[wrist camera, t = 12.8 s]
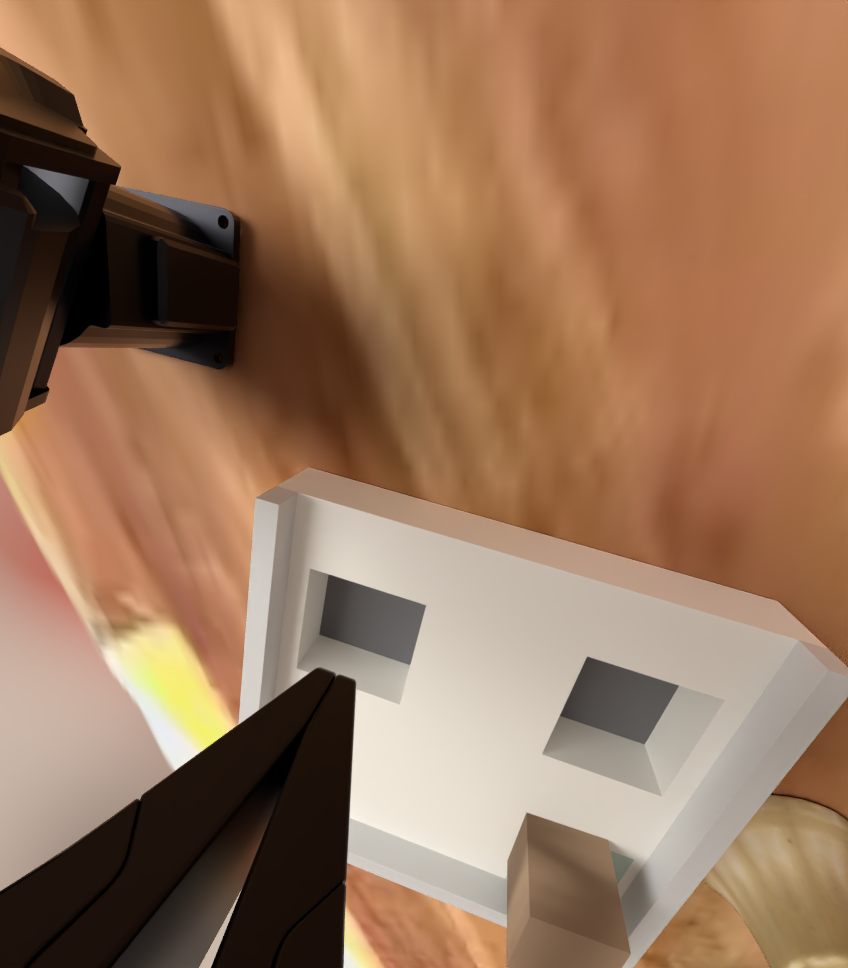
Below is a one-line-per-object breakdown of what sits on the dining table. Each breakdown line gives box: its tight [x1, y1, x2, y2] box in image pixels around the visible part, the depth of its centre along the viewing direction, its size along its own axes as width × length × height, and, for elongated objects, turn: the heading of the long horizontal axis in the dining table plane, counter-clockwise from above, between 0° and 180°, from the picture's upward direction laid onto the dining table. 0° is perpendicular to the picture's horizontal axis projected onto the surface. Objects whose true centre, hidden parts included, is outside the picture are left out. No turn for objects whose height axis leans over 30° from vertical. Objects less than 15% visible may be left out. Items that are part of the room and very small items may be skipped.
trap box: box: [239, 467, 848, 968], centre depth 20 cm, size 22×20×4 cm
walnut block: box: [506, 812, 631, 968], centre depth 19 cm, size 4×4×4 cm
